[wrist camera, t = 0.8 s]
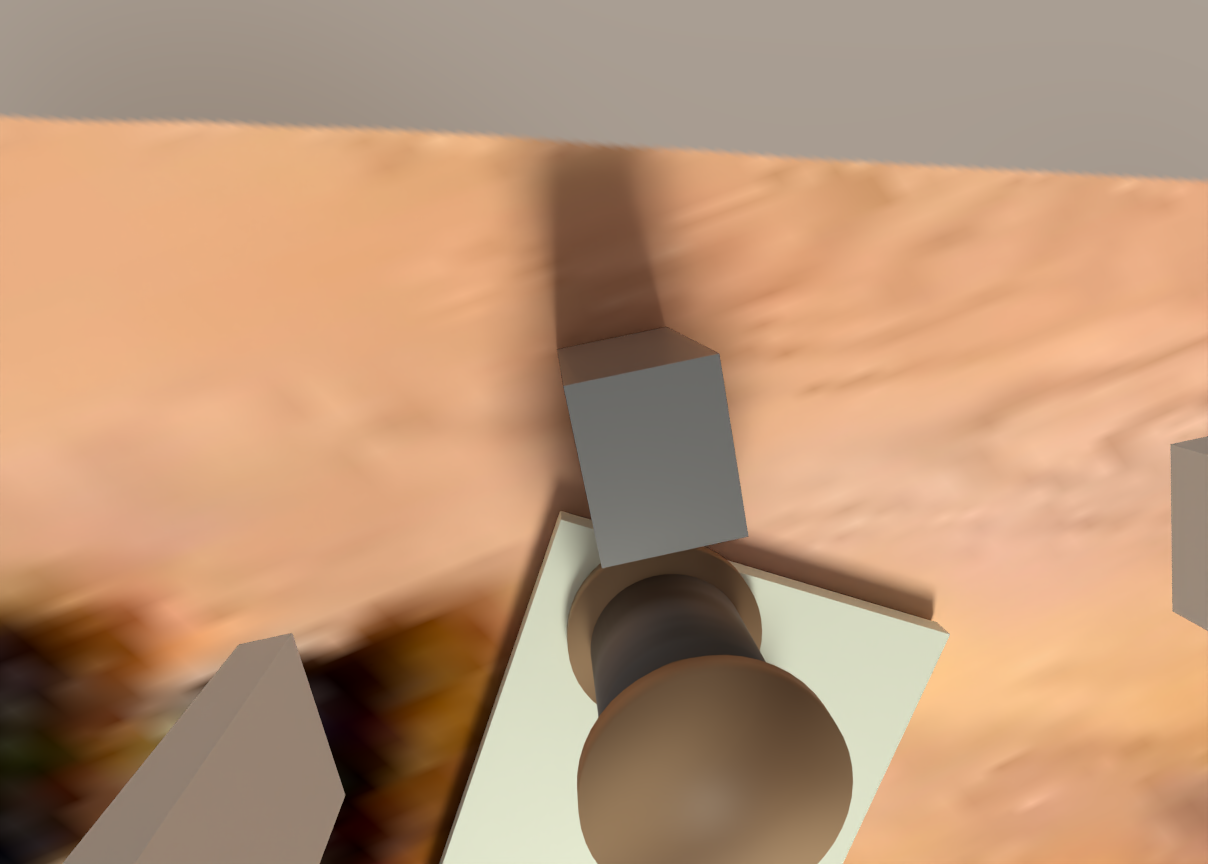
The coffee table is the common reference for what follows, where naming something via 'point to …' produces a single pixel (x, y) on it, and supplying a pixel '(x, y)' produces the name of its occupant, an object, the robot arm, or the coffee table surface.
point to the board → (566, 714)
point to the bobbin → (697, 724)
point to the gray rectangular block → (653, 444)
